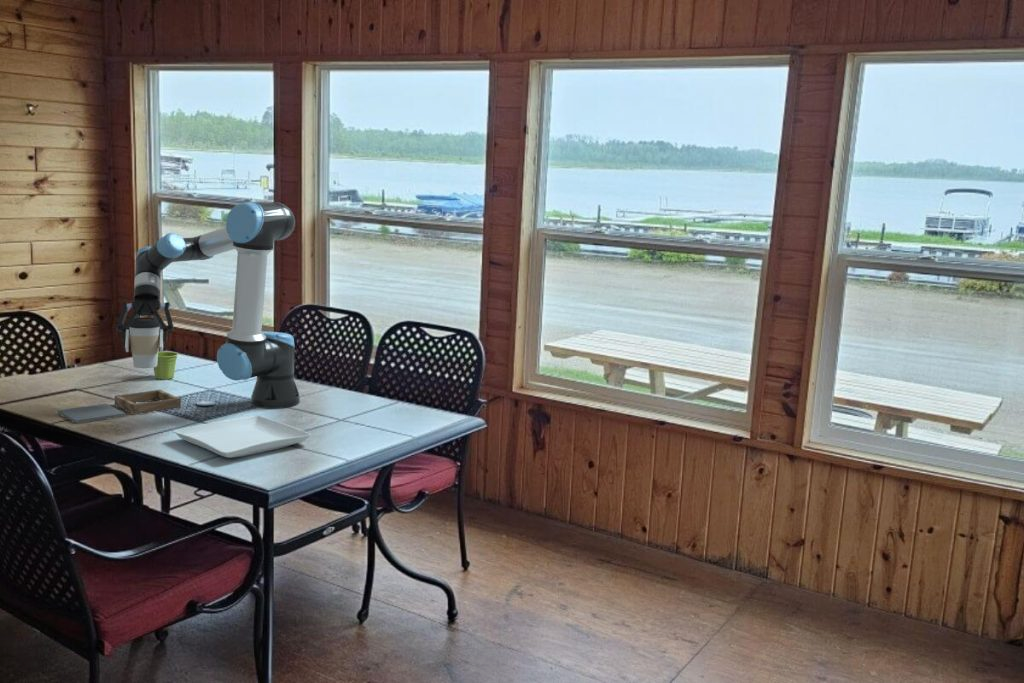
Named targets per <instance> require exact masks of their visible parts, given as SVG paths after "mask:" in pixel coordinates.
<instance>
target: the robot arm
mask: <svg viewBox="0 0 1024 683" xmlns="http://www.w3.org/2000/svg"><path fill="white" fill-rule="evenodd" d="M295 227H296V219H295V215H294V213H293V211H292V210H291V208H289V207H288V206H287V205H285V204H284V203H281V202H277V201H274V202H273V201H271V202H270V201H269V202H267V201H266V202H265V201H262V202H261V201H260V202H259V201H248V202H240V203H238V204H236V205H234V207H232V208H231V209H230V211H229V212H228V214H227V216H226V220H225V226H224V227H222V228H218V229H216V230H215V229H214V230H213V231H209V232H206V233H203V234H200V235H197V236H192V237H183V236H180V235H179V234H176V233H175V232H168V233H166V234H165V235H163V236H162V237H160V239H158V240H157V241H156V242H155V243H154V244H153V245H152V246H144V247H141V248H139V249H138V251H137V252H136V257H135V261H134V262H135V266H134V268H135V269H134V270H135V272H134V287H133V288H134V290H133V301H132V302H131V303H127V302H125V301H123V302H122V310H121V312H120V315H119V316H118V320H117V323H116V325H115V328H116V332H117V333H121V341H122V342H125V345H124V348H125V353H129V352H130V348H129V347H130V335H129V334H130V329H129V322H132V320H133V319H134V318H141V317H145V316H146V317H152V318H155V319H156V320H157V322H159V324H160V327H159V333H160V337H159V352H164V342H167V341H168V333H172V332H174V331H175V330H174V324H173V320H172V316H171V313H170V303H169V302H168V301H167V302H165V303H161V301H160V292H161V291H160V289H161V272H162V271H163V270H165V269H166V268H167V267H168V266H169V265H171V264H172V263H178V262H188V261H205V260H206V261H207V260H210V259H212V258H214V256H216V255H220V254H222V253H226V252H229V251H233V250H236V251H237V255H236V256H237V259H236V269H235V270H236V271H235V274H236V275H235V283H234V284H235V286H234V288H235V290H234V298H233V299H234V300H233V313H232V314H233V316H232V328H231V330H230V331H228V332H227V333H226V338H225V340H226V341H225V343H224V344H222V345H221V346H220V347H219V348H218V349H217V354H216V361H217V365H218V368H219V370H220V371H221V373H222V374H223V375H224V376H225V377H226V378H228V379H229V380H232V381H242V380H243V381H247V380H249V379H252V378H255V377H256V381H255V384H254V387H253V389H252V392H251V393H252V394H251V397H250V398H251V399H250V402H251V405H253V406H254V407H257V408H258V407H259V408H265V409H282V408H283V409H285V408H290V407H295V406H297V405H299V404H300V398H301V397H300V393H299V390H298V387H297V384H296V380H295V347H296V346H295V339H294V336H293V335H291V334H290V333H286V332H277V331H267V330H266V331H262V329H263V328H262V327H263V317H264V316H263V315H264V301H265V291H266V278H267V268H268V267H267V265H268V255H269V254H270V253H271V252H273V250H274V244H275V241H283V240H285V239H287V238H288V237H290V236H291V235H292V234H293V232H294V230H295ZM131 308H132V309H133V312H132V313H131V315H130V316H129V318H128V319H127V317H128V312H129V311H130V310H131ZM159 309H161V310H162V311H164V315H165V319H166V323H167V325H166V323H165V322H164V320H163V318H162V317H161V315H160V314H159V312H158V311H159ZM125 320H127V321H126V322H125Z"/></svg>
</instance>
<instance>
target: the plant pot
mask: <svg viewBox="0 0 1024 683" xmlns="http://www.w3.org/2000/svg"><path fill="white" fill-rule="evenodd" d="M178 356H179V353H178V352H176V351H163V352H160V351H159V352H158V362H157V366H156V367H153V371H154V378H155V379H157V378H158V380H160V379H163V380H165V379H167V380H169V379H171V378H172V379H174V378H175V377H174V376H175V370H176V363H177V358H178Z"/></svg>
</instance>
